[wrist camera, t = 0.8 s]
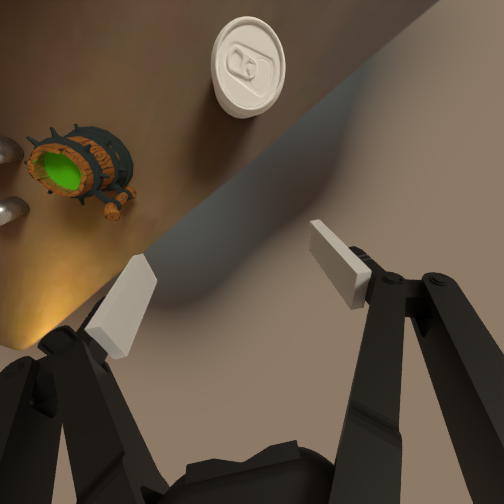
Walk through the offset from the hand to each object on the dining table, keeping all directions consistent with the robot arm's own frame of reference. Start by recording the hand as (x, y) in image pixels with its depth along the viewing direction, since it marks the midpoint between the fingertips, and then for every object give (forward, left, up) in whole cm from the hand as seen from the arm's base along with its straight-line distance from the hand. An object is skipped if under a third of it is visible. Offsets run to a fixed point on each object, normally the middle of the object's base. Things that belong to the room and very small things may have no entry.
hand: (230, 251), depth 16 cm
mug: (-10, -17, -26) cm, 32 cm away
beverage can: (-11, +8, -26) cm, 29 cm away
